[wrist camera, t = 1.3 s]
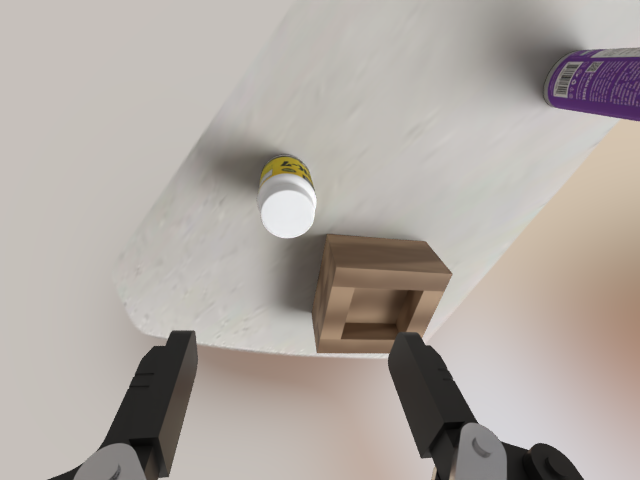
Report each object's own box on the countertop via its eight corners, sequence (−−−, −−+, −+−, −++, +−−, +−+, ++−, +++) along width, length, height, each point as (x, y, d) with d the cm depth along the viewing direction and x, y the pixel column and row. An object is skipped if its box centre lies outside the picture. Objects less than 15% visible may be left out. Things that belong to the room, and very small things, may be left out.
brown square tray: (326, 232, 33) (336, 267, 27) (425, 240, 35) (452, 274, 29) (311, 311, 39) (316, 353, 33) (396, 314, 41) (414, 353, 35)
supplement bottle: (319, 172, 29) (333, 208, 22) (292, 208, 30) (296, 253, 23) (278, 142, 27) (278, 171, 20) (251, 183, 28) (242, 223, 21)
